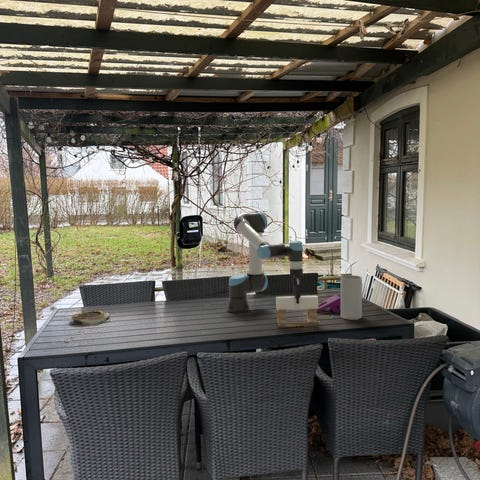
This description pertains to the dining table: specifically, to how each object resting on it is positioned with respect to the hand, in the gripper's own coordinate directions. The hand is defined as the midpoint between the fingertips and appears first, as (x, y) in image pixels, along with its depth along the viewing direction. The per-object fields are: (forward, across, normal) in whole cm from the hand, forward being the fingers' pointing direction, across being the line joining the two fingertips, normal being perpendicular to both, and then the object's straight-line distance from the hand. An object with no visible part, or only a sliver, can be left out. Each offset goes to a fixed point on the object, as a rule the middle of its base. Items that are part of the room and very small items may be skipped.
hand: (296, 307), depth 249 cm
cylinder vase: (+10, +11, -35) cm, 38 cm away
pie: (+10, +20, +128) cm, 130 cm away
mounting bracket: (+10, +27, -24) cm, 37 cm away
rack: (+10, 0, 0) cm, 10 cm away
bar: (+1, 0, -2) cm, 2 cm away
